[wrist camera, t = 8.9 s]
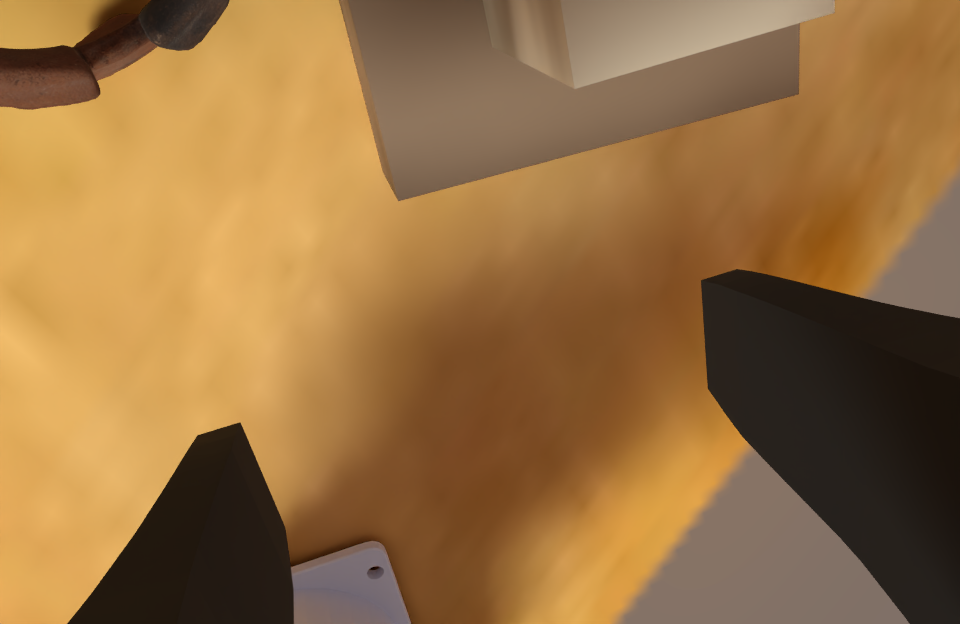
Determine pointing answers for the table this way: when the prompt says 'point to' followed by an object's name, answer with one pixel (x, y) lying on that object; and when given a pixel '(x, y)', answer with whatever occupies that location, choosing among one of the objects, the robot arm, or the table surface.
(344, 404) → the table surface
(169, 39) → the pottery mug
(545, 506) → the table surface
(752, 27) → the maple cube
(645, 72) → the grey flat square block
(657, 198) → the table surface
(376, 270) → the table surface
